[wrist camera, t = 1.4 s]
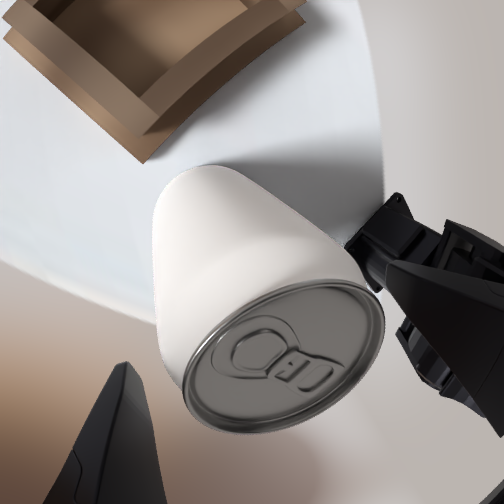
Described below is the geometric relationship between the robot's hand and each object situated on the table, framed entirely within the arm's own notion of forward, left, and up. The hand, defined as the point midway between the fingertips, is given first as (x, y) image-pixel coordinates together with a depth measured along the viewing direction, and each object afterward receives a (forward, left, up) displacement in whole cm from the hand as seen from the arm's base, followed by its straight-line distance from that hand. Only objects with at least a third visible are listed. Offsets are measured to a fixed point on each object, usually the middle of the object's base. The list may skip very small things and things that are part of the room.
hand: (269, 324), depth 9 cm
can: (0, 0, -10) cm, 10 cm away
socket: (+11, -6, -10) cm, 16 cm away
